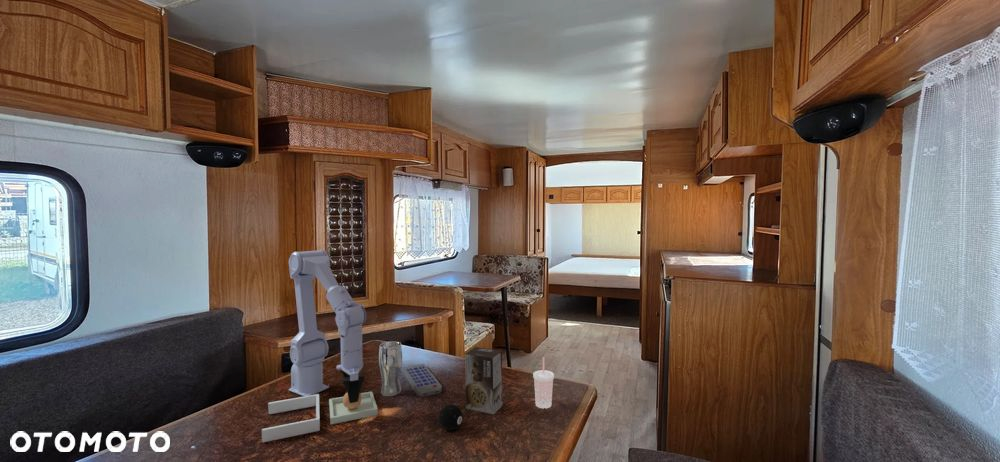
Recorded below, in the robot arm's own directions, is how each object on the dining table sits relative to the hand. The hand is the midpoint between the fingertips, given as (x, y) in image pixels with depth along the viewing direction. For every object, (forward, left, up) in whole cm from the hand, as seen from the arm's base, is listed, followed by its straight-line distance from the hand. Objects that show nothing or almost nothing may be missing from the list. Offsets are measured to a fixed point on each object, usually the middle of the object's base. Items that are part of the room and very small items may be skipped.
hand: (352, 396), depth 113 cm
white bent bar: (-8, -12, -4) cm, 16 cm away
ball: (0, 0, -3) cm, 3 cm away
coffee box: (+31, +20, -4) cm, 37 cm away
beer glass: (+1, +14, -4) cm, 14 cm away
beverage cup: (+45, +30, -4) cm, 54 cm away
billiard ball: (+30, +6, -4) cm, 31 cm away
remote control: (+3, +25, -5) cm, 25 cm away
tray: (0, 0, -4) cm, 4 cm away
